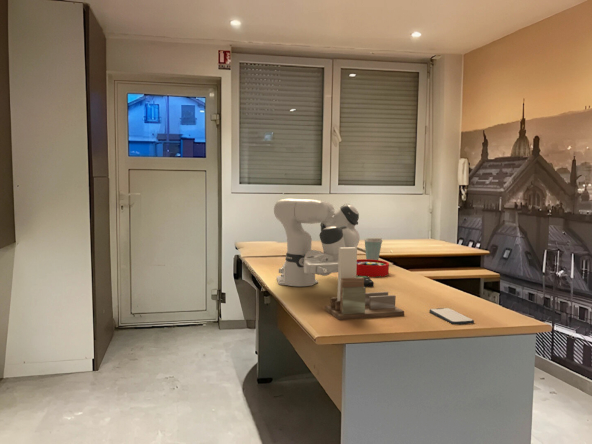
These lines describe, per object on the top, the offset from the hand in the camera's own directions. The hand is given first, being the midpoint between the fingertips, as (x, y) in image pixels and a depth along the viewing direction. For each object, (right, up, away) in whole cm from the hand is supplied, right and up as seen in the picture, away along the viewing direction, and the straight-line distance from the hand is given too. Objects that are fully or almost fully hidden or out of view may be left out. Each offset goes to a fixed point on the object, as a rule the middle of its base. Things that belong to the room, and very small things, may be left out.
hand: (336, 270), depth 179 cm
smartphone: (+39, -16, -13) cm, 44 cm away
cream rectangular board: (+3, -13, -10) cm, 16 cm away
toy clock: (+23, -9, +68) cm, 72 cm away
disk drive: (+14, -11, +41) cm, 45 cm away
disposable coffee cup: (+30, -6, +101) cm, 105 cm away
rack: (+9, -14, -9) cm, 19 cm away
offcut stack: (+4, -13, -15) cm, 20 cm away
